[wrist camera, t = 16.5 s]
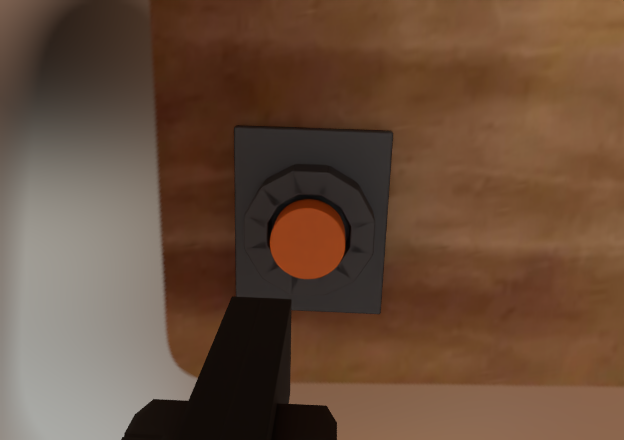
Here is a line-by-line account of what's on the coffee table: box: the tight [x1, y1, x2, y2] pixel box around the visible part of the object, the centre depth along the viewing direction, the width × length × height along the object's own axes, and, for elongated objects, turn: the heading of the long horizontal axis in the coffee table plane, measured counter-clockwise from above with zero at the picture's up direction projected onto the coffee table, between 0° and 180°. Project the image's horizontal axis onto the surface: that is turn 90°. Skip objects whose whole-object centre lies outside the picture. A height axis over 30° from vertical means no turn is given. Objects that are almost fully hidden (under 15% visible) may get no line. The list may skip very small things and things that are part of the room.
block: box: [234, 125, 393, 314], centre depth 29 cm, size 10×8×2 cm
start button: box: [270, 199, 345, 279], centre depth 28 cm, size 4×4×2 cm
